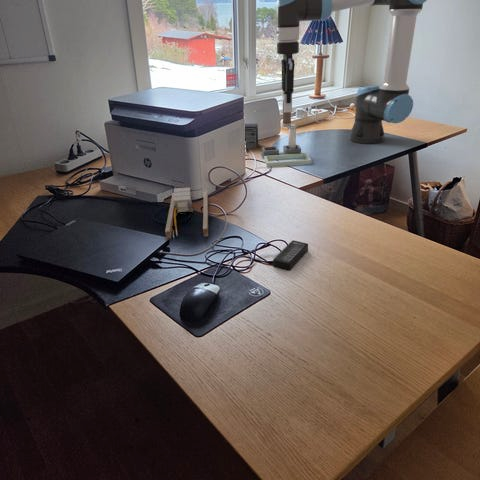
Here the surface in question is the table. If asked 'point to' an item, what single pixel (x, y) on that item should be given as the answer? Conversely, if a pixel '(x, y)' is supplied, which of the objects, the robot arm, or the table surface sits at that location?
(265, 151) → the fuse block
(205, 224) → the cable rest strips
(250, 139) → the small box
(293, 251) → the multiport hub
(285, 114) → the fuse
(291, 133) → the fuse
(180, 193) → the electrical component
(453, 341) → the table surface
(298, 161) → the parts tray
